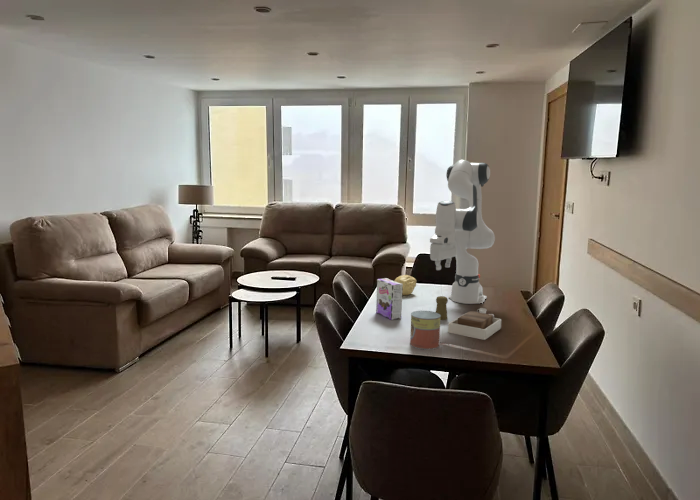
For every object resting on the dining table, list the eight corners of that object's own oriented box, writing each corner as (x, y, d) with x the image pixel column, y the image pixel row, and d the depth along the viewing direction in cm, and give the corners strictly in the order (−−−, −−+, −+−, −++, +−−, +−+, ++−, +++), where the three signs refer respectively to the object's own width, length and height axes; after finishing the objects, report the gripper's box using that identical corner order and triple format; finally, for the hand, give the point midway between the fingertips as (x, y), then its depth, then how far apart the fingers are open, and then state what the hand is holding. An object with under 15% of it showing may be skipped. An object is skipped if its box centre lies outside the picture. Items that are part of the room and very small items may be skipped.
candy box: (375, 312, 238) (376, 278, 235) (386, 311, 240) (387, 277, 238) (390, 320, 226) (392, 284, 223) (401, 318, 228) (403, 283, 226)
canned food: (407, 339, 199) (408, 310, 197) (435, 339, 200) (436, 310, 198) (412, 349, 188) (414, 318, 186) (442, 349, 189) (444, 318, 187)
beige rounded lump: (405, 297, 269) (406, 277, 267) (388, 293, 278) (389, 274, 276) (418, 294, 277) (419, 275, 275) (402, 290, 285) (403, 272, 284)
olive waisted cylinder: (450, 320, 228) (451, 296, 226) (443, 323, 223) (444, 298, 222) (438, 317, 232) (439, 294, 230) (431, 320, 227) (432, 296, 226)
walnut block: (469, 324, 219) (470, 310, 218) (492, 328, 213) (493, 314, 212) (457, 332, 207) (457, 317, 206) (480, 336, 202) (481, 322, 201)
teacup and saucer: (496, 318, 234) (496, 309, 234) (486, 321, 229) (487, 312, 228) (479, 314, 241) (480, 305, 240) (470, 317, 235) (470, 308, 235)
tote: (465, 323, 223) (466, 312, 222) (500, 330, 214) (501, 319, 213) (447, 334, 207) (448, 322, 206) (484, 342, 198) (485, 330, 197)
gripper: (447, 235, 232) (446, 265, 234) (428, 239, 216) (426, 270, 218) (460, 236, 229) (458, 266, 231) (441, 240, 212) (440, 272, 214)
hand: (443, 268), depth 224 cm, fingers open, 8 cm apart
